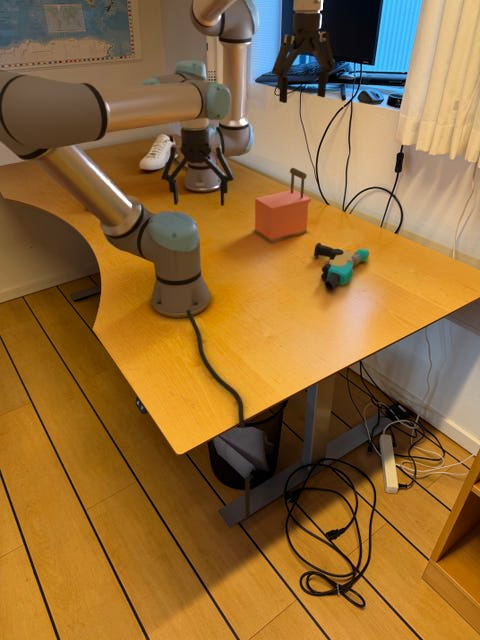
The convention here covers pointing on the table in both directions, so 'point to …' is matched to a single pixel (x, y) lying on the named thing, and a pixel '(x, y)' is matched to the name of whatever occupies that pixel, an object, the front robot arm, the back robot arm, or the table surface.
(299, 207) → the chest
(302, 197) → the lid
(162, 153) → the sneaker
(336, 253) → the toy gun
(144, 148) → the table surface
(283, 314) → the table surface
